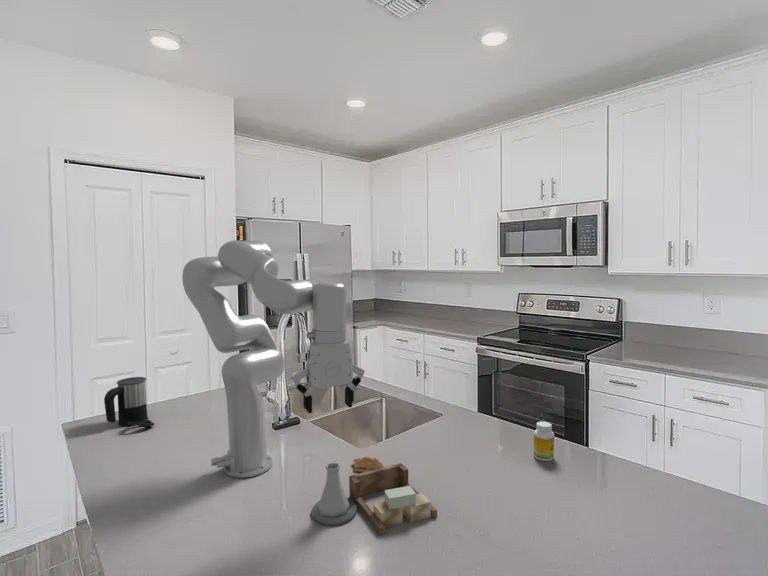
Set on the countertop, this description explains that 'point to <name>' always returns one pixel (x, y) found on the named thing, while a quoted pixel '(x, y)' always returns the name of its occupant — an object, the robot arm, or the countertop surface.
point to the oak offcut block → (388, 514)
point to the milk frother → (128, 403)
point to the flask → (333, 494)
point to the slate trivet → (337, 519)
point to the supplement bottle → (544, 442)
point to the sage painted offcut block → (400, 497)
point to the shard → (366, 464)
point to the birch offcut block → (418, 509)
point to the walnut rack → (378, 489)
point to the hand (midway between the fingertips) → (328, 408)
